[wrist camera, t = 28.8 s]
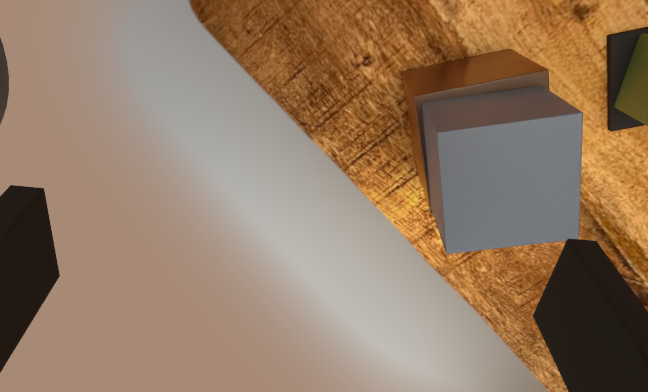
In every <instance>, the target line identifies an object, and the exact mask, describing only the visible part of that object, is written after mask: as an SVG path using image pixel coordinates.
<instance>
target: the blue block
mask: <svg viewBox="0 0 648 392" xmlns="http://www.w3.org/2000/svg"><path fill="white" fill-rule="evenodd" d="M422 110H423V122H424V133H425V145H426V156H427V168H428V180H429V191H430V203H431V209H432V212H433V215H434V218H435V221H436V224H437V227H438V230H439V233H440V236H441V239H442V242H443V245H444V248H445V251H446V253H447V254H452V253H461V252H469V251H478V250H487V249H496V248H505V247H513V246H522V245H531V244H540V243H548V242H557V241H566V240H568V239H578V238H579V214H580V185H581V156H582V127H583V113H582V112H581V111H579V110H578V109H576V108H575V107H573V106H572V105H570V104H569V103H567V102H566V101H564V100H563V99H561V98H560V97H558V96H557V95H555V94H554V93H552V92H551V91H549V90H548V89H546V88H545V87H543V86H534V87H527V88H520V89H513V90H506V91H499V92H492V93H485V94H478V95H471V96H464V97H457V98H450V99H443V100H436V101H429V102H423V103H422Z"/></svg>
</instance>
